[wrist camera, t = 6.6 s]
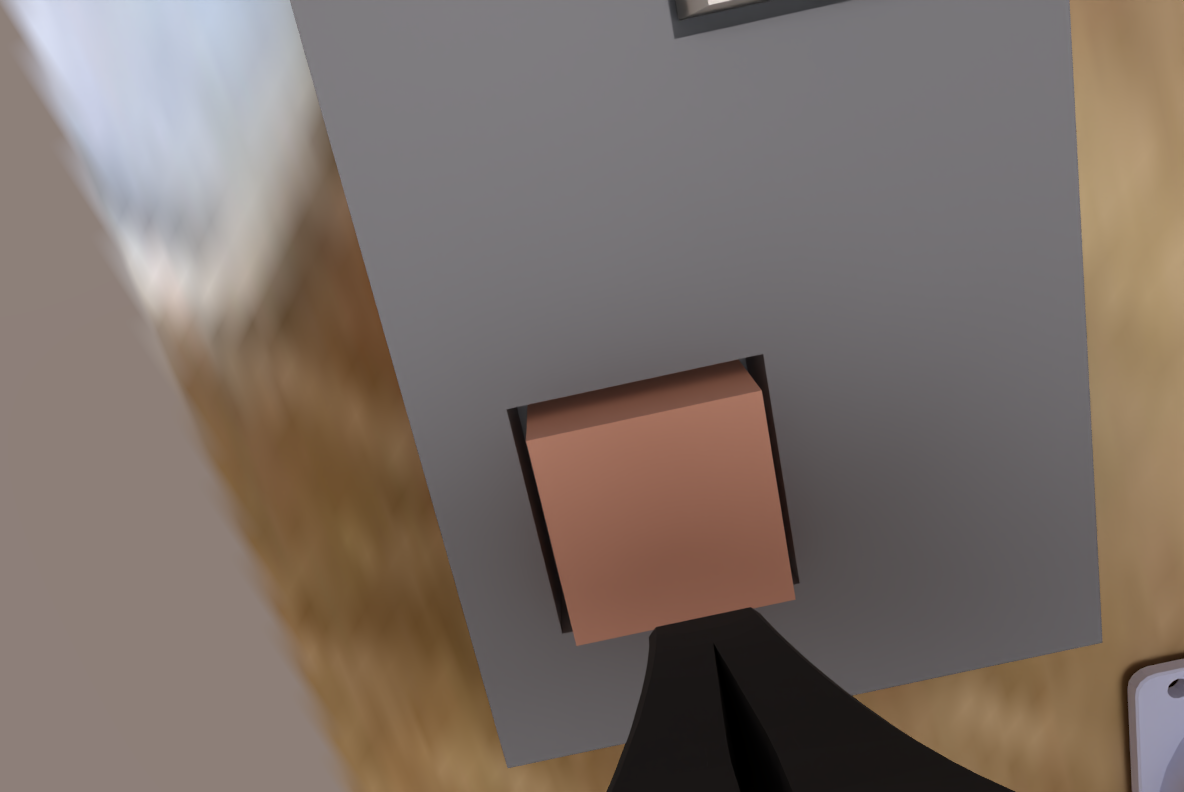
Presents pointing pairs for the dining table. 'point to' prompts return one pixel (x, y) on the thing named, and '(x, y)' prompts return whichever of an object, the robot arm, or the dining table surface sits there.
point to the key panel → (738, 304)
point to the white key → (709, 6)
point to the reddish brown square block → (660, 500)
